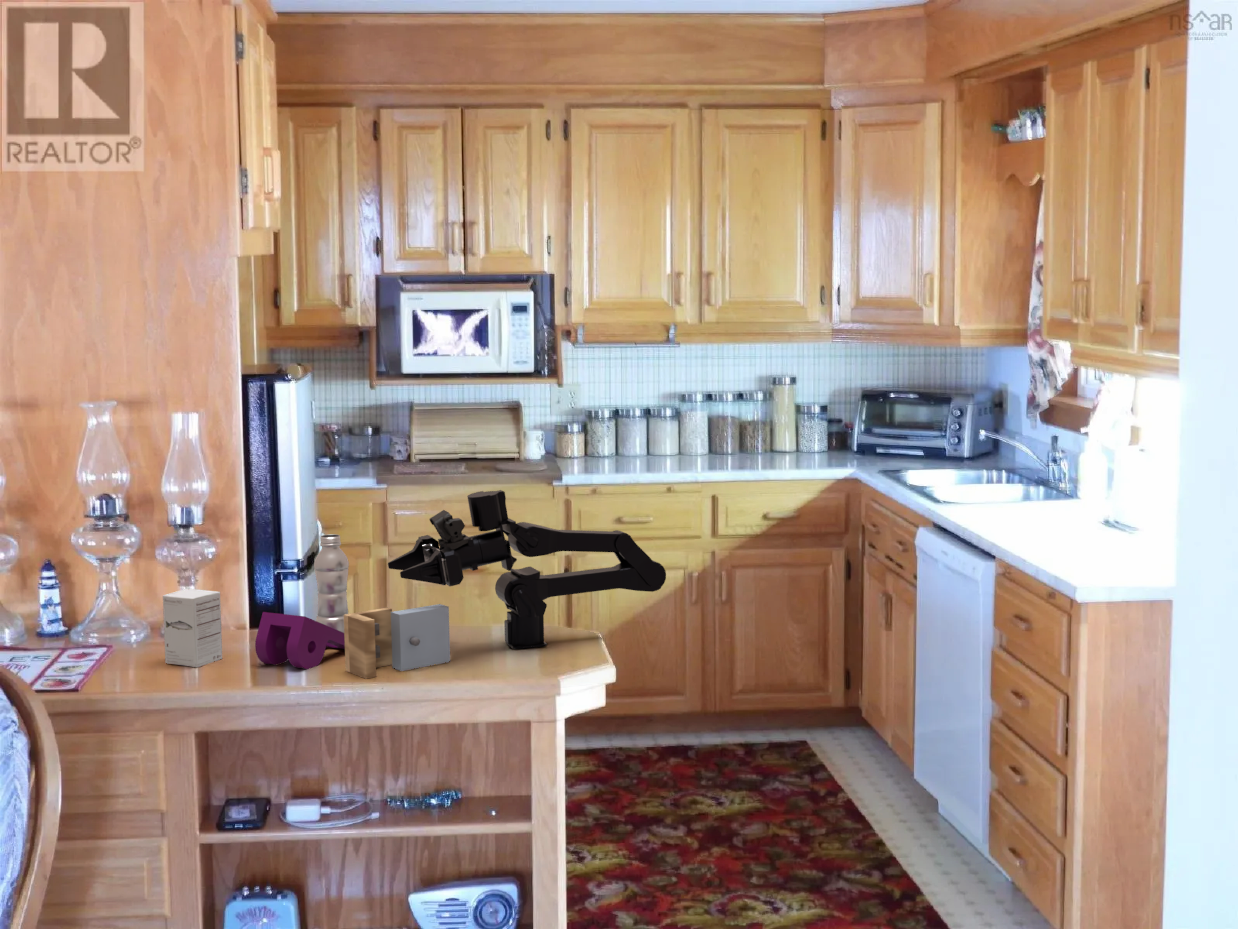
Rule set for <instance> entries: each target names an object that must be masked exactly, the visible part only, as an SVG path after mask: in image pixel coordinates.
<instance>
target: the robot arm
mask: <svg viewBox="0 0 1238 929" xmlns="http://www.w3.org/2000/svg"><path fill="white" fill-rule="evenodd" d="M506 498H507V497H506V491H505V490H501V489H500V490H490V491H488V490H487V491H484V490H482V491H476V492H473V493H470V494H468V495H467V502H468V509H469V513H470V518H471V524H472V525H471V526H472V527H475V528H478V532H485V533H480V534H476V535H472V536H468V535H466V534H465V533H463V532H462V531H463V530H464V529H465V527H466V524H465V523H464V521H463V520H462V519H461V518H460V517H456V518H453V515H452V514H450V512H449V511H447V510H446V509H445V510H444V509H443V510H441V511H439V512H438V513H436V514H435V515H432V516H431V517H430V518H429V522H430V524H431V525H432V526H433V527H434V529H435V530H436V533H437V534H438V535H439V537H440V538H438V539H436V538H434V537H432V536H431V535H430V534H427V535H421V536H418V539H416V540H415V544H414V546H413V547H412V549H411V550H409V551H408V552H406V553H404V554H401V555H400V556H399V557H396V558H395V559H393V560H391V561H389V562H387V565H388V566H387V567H388V569H390V570H398V571H400V572H399V575H400V576H399V577H400V578H401V579H404V580H411V581H412V580H413V581H418V582H424V583H431V584H434V585H441V586H446V585H447V586H448V587H453V586H458V585H461V584H462V581H463V580H464V573H463V571H466V570H471V571H472V572H473V571H478V570H479V567H482V566H488V565H491V564H495V563H500V562H501V567H502V568H503V569H504V570H506V571H507V572H504V573H502V574H500V576H499V577H498V578H497V580H496V581H495V587H494V589H495V594H496V596H497V598H498V599H499V600H501V601H502V602H504V605H505V607H506V609H507V610H508V611H506V619H505V620H504V621H503V623H504V627H503V628H504V643H506V644H507V645H508V646H509V647H510V648H511V649H513V650H519V649H530V648H542V647H547V646H548V643H547V642H546V641H545V627H544V623H545V622H544V620H545V619H544V617H545V616H544V615H545V612H546V609H547V607H548V604H547V603H546V602H545V600H547V599H549V598H554V597H561V596H569V595H575V594H577V595H579V594H585V593H593V592H594V593H595V592H600V591H609V590H617V589H620V590H629V591H635V592H651V593H653V592H656V591H657V592H658V591H660V589H661V588H662V587H663V586H664V584H665V582H666V579H667V572H666V569H665V568H664V566H663V565H662V564H661V563H660V562H658V561H656V560H653V559H652V558H651V557H650V556H649V555H648V554H647V553H646V552H645V551H644V550H643V549H642V548H641V547H640V546H639V545H638V544H637V543H636V541H635V540H634V539H633V537H632V536H631V535H630V534H628V533H627V532H624V531H621V530H617V529H615V530H612V531H610V530H609V531H608V530H606V531H605V530H581V529H580V530H579V529H573V530H572V529H556V528H553V527H552V528H551V527H547V526H543V525H539V524H535V523H530V522H526V521H521V522H516V520H514V519H511V518H510V517H509V516H508V510H507V504H506V501H507V500H506ZM505 535H506V536H507V539H506V537H505ZM511 548H512V550H513V551H514V552H516V553H519V554H520V555H522V556H525V557H528V558H534V557H541V556H546V555H547V556H548V555H551V554H555V553H558V552H581V553H582V552H585V553H590V552H592V553H613V554H614V555H615V557H616V558H617V560H618V561H619V563H617V564H615V565H614V566H610V567H602V568H593V569H584V570H578V571H577V570H576V571H569V572H568V571H567V572H560V573H552V574H550V573H549V574H541V571H540V570H537V569H536V568H534V567H532V566H526V567H523V568H518V569H517V568H516V569H515V568H513V566H514V564H515V563H516V562H517V560H518V559H517V557H514V556H513V555H512V550H511Z"/></svg>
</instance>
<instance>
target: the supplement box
mask: <svg viewBox="0 0 1238 929" xmlns="http://www.w3.org/2000/svg"><path fill="white" fill-rule="evenodd" d="M221 609H222V608H221V591H215V590H208V589H207V590H205V589H197V588H186V589H185V588H184V589H181V590H177V591H174V592H170V593H167V594H163V595H162V610H163V631H164V632H163V636H164V657H165V658H164V661H165V664H166V663H167V664H168V665H169V664H172V665H179V666H186V667H193V668H199V667H200V668H201V667H202V666H206V665H208V664H212V663H215V662H217V661H218V662H219V661H221V660H223V639H222V638H223V637H222V636H223V635H222V611H221ZM220 659H221V660H220ZM214 661H215V662H214ZM167 664H166V665H167Z"/></svg>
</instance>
